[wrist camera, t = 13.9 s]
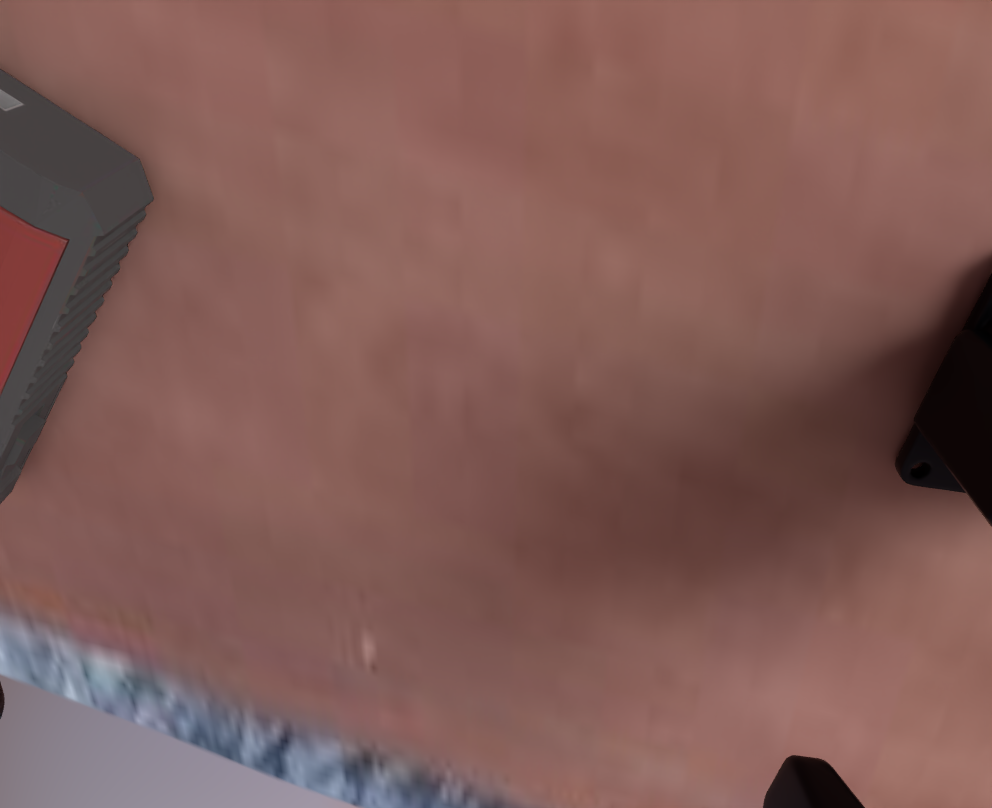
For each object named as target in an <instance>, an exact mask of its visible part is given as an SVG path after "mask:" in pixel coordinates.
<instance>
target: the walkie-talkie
mask: <svg viewBox="0 0 992 808" xmlns="http://www.w3.org/2000/svg"><path fill="white" fill-rule="evenodd" d="M153 199H154V198H153V195H152V192H151V190H150V187H149V184H148V181H147V179H146V176H145V173H144V170H143V167H142V165H141V162H140V159H139V158H137V157H136V156H134V155H133V154H131V153H130V152H128V151H127V150H125V149H124V148H122V147H120V146H119V145H117V144H116V143H114V142H113V141H111V140H110V139H108V138H106V137H105V136H103V135H102V134H100V133H99V132H97V131H96V130H94V129H92V128H91V127H89V126H88V125H86V124H85V123H83V122H82V121H80V120H79V119H77V118H75V117H74V116H72V115H71V114H69V113H68V112H66V111H65V110H63V109H61V108H60V107H58V106H57V105H55V104H54V103H52V102H51V101H49V100H47V99H46V98H44V97H43V96H41V95H40V94H38V93H37V92H35V91H34V90H32V89H30V88H29V87H27V86H26V85H24V84H23V83H21V82H20V81H18V80H16V79H15V78H13V77H12V76H10V75H9V74H7V73H6V72H4V71H2V70H1V69H0V504H1V503H2V501H3V500H4V499H5V498H6V497H7V496H8V495H9V494H10V493H11V492H12V490H13V488H14V486H15V484H16V482H17V480H18V478H19V476H20V474H21V472H22V471H21V470H22V468H23V466H24V464H25V462H26V460H27V458H28V456H29V454H30V452H31V450H32V448H33V446H34V444H35V443H36V441H37V439H38V437H39V435H40V433H41V430H42V428H43V426H44V424H45V422H46V419H47V417H48V415H49V413H50V411H51V409H52V407H53V405H54V403H55V400H56V398H57V396H58V394H59V392H60V390H61V388H62V386H63V384H64V382H65V380H66V378H67V374H66V372H67V371H68V370H69V369H70V368H71V367H72V366H73V363H74V360H73V357H74V356H75V355H76V354H77V353H78V352H79V351H80V349H81V345H80V342H81V341H82V340H83V339H84V338H85V337H87V335H88V333H89V331H88V329H87V327H88V326H89V325H90V324H91V323H92V322H94V320H95V318H96V314H95V311H96V310H97V309H98V308H99V307H100V306H101V305H102V304H103V302H104V299H103V294H104V293H106V292H107V291H108V290H109V289H110V288H111V286H112V282H111V280H110V279H111V278H112V277H113V276H114V275H115V274H116V273H118V271H119V269H120V265H119V261H120V260H121V259H122V258H123V257H125V256H126V255H127V253H128V251H129V249H128V247H127V244H128V242H130V241H131V240H132V239H134V238H135V236H136V234H137V230H136V228H135V227H136V225H137V224H138V223H140V222H141V221H142V220H144V218H145V216H146V213H145V210H144V209H145V207H146V205H148V204H149V203H151V202H152V201H153Z"/></svg>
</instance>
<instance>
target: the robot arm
mask: <svg viewBox="0 0 992 808" xmlns="http://www.w3.org/2000/svg"><path fill="white" fill-rule="evenodd" d="M914 422H915V423H914V425H913V427H912V429H911V431H910V433H909V435H908V437H907V439H906V441H905V443H904V445H903V447H902V449H901V451H900V452H899V454H898V456H897V458H896V462H895V467H896V470H897V472H898V474H899V475H900V477H901V478H902V479H903V480H904V481H905V482H906V483H907V484H910V485H914V486H921V487H928V488H935V489H942V490H949V491H956V492H962V493H967V495H968V496H969V497H970V499H971V500H972V501H973V503H974V504H975V505H976V507H977V508H978V509H979V511H980V512H981V513H982V515H983V516H984V517H985V519H986V520H987V521H988V523H989V524H990V525H991V526H992V274H991V275H990V277H989V279H988V281H987V283H986V285H985V287H984V289H983V291H982V293H981V295H980V297H979V299H978V301H977V303H976V305H975V307H974V309H973V310H972V312H971V314H970V316H969V318H968V320H967V322H966V324H965V326H964V328H963V330H962V332H961V333H960V334H959V335H958V336H956V338H955V339H954V341H953V343H952V345H951V347H950V349H949V351H948V353H947V355H946V357H945V359H944V361H943V363H942V364H941V366H940V368H939V370H938V372H937V374H936V376H935V378H934V380H933V382H932V384H931V386H930V388H929V390H928V392H927V394H926V396H925V398H924V400H923V402H922V404H921V406H920V407H919V409H918V411H917V413H916V415H915V418H914ZM923 462H924V463H923ZM918 463H923V464H922V465H921V466H920V467H918V468H916V469H912V467H913V466H914V465H916V464H918ZM3 709H4V693H3V689H2V686H1V683H0V719H1V716H2V713H3ZM763 808H865V807H864V806H863V805H862V804H861V802H860V801H859V800H858V799H857V797H856V796H855V795H854V794H853V792H852V791H851V790H850V789H849V787H848V786H847V785H846V784H845V782H844V781H843V780H842V779H841V777H840V776H839V775H838V774H837V772H836V771H835V770H834V769H833V767H832V766H831V765H830V764H828V763H827V762H826V761H824V760H822V759H819V758H812V757H804V756H796V755H792V756H790V757H788V758H786V760H785V761H784V763H783V764H782V766H781V768H780V770H779V772H778V773H777V775H776V777H775V779H774V780H773V782H772V784H771V786H770V788H769V789H768V791H767V793H766V796H765V799H764V805H763Z"/></svg>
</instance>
